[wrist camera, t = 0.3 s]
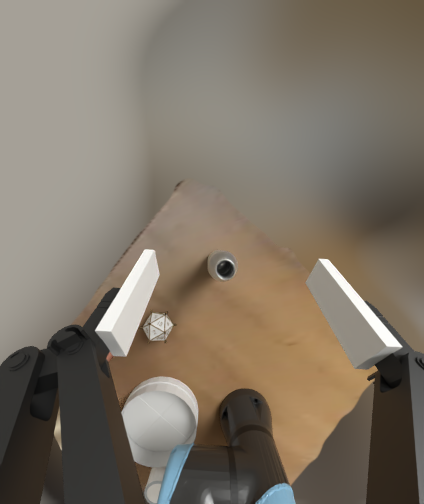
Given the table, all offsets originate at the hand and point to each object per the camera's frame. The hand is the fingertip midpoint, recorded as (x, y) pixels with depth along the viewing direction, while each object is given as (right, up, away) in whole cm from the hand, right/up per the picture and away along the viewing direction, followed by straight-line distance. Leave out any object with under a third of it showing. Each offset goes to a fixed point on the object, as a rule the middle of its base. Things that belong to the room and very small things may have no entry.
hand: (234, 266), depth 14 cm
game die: (-17, -19, +36) cm, 44 cm away
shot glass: (-16, -62, +37) cm, 74 cm away
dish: (-17, -47, +37) cm, 62 cm away
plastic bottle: (0, -1, +36) cm, 36 cm away
